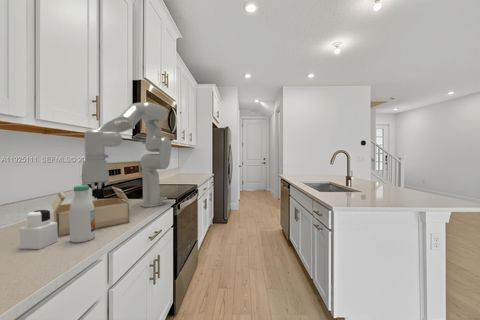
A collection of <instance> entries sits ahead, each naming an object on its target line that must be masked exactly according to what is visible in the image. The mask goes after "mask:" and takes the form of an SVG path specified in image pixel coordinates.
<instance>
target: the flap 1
mask: <svg viewBox="0 0 480 320" xmlns="http://www.w3.org/2000/svg"><path fill="white" fill-rule="evenodd" d="M65 199H66V195H65V194H64V192H63V191H59V193H58V194H57V196H56V197H55V199H54V200H53V202H52V203H51V207H52V210H53V213H54V212H56V211H57V209H58V208H59V206H60V205H62V203H63V202H64V200H65Z"/></svg>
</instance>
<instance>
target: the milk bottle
mask: <svg viewBox="0 0 480 320" xmlns="http://www.w3.org/2000/svg"><path fill="white" fill-rule="evenodd" d="M89 191H90V187H89V186H88V185H82V184H81V185H75V186H74V187H73V193H74V197H73V199H72V201H71V203H70V204H71V206H70V211H69V222H70V234H69V240H70V242H71V243H73V244H74V243H76V244H77V243H84V242H88V241H90V240H93V239H94V238H95V237H96V229H95V212H94V204H93V202H92V201H93V200H92V198H91V197H90V194H89Z"/></svg>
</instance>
